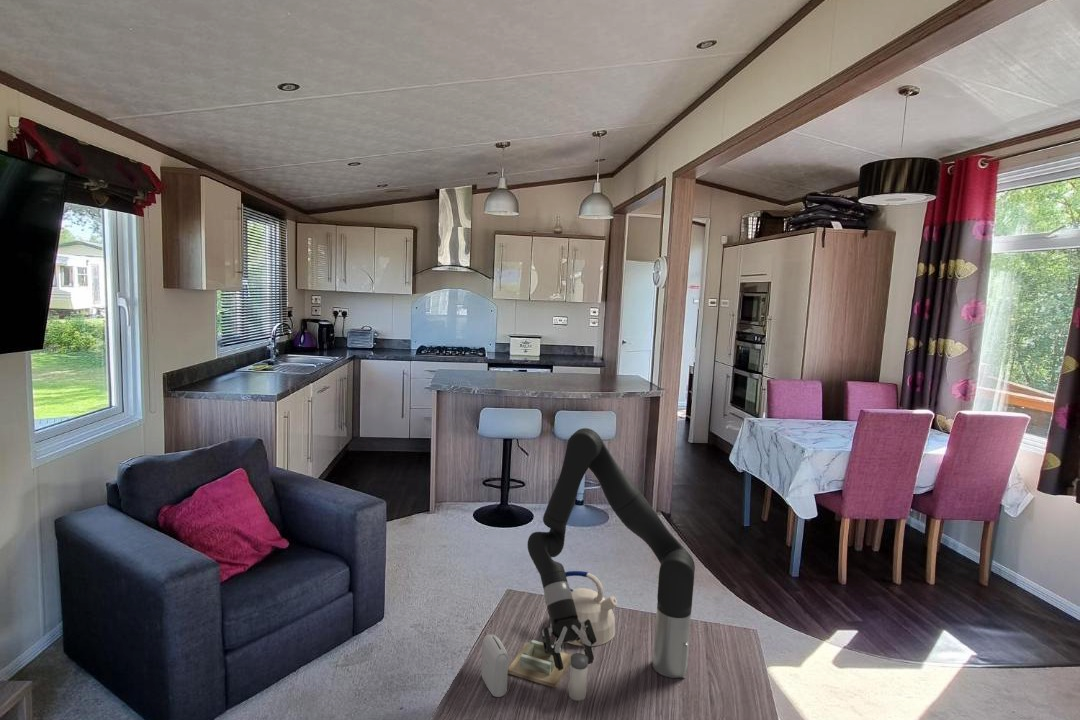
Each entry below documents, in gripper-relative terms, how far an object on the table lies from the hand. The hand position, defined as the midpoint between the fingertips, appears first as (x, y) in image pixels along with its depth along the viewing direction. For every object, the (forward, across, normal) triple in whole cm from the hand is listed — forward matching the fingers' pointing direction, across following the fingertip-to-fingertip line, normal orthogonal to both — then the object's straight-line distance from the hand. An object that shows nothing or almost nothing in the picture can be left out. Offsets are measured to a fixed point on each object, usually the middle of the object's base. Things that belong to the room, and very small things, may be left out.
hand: (576, 666), depth 151 cm
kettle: (-13, +16, +23) cm, 31 cm away
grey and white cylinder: (+6, 0, +4) cm, 7 cm away
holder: (-4, -4, +14) cm, 15 cm away
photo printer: (-1, -19, +12) cm, 22 cm away
